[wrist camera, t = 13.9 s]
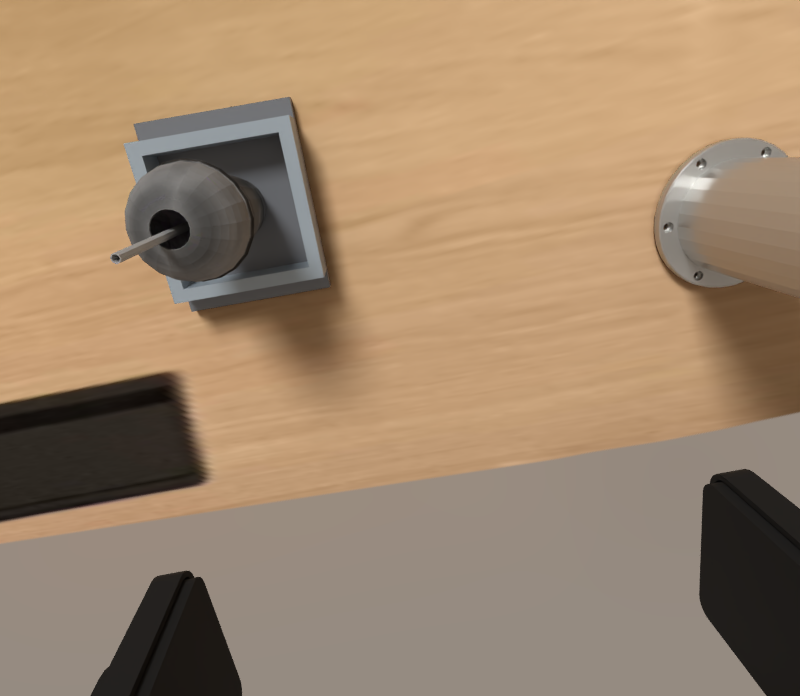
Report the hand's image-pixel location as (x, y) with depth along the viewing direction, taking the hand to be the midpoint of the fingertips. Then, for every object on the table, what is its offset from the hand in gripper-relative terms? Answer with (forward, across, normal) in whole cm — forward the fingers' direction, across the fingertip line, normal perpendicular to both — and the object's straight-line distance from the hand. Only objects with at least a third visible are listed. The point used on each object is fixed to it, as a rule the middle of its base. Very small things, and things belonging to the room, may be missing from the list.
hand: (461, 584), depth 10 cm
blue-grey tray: (+38, +11, -6) cm, 40 cm away
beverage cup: (+38, +11, -6) cm, 39 cm away
